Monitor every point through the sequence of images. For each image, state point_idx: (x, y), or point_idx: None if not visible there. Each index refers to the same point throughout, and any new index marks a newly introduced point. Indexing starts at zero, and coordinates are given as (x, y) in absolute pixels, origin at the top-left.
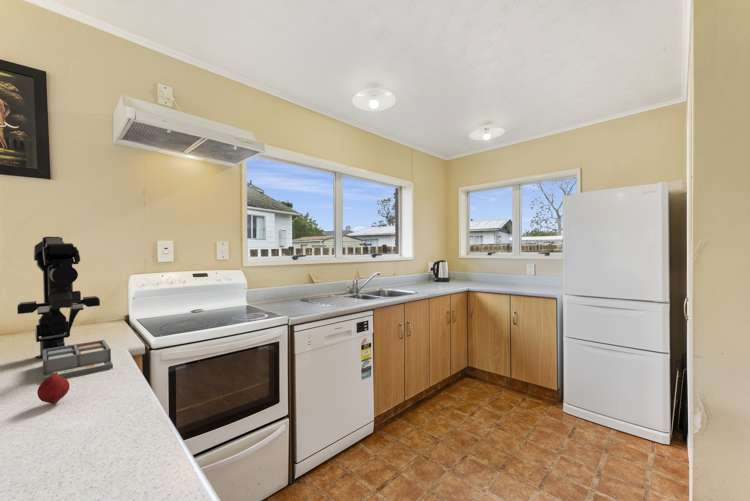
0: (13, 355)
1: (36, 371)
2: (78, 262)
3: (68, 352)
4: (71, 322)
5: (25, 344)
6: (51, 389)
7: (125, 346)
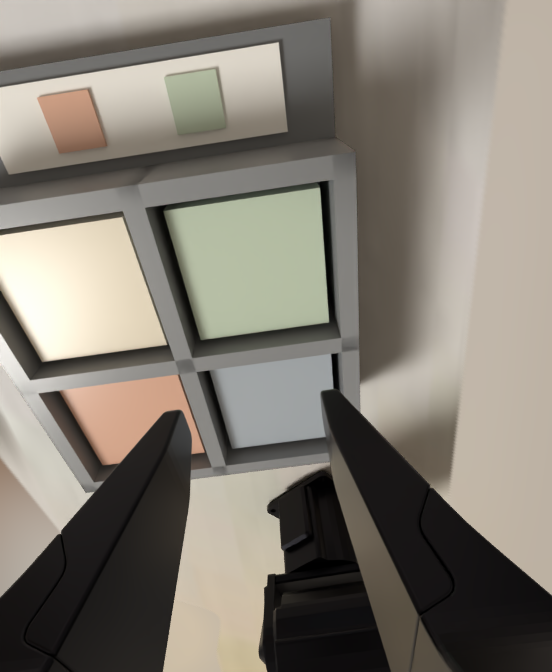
0: None
1: (363, 322)
2: None
3: (228, 346)
4: (112, 495)
5: None
6: None
7: (54, 492)
